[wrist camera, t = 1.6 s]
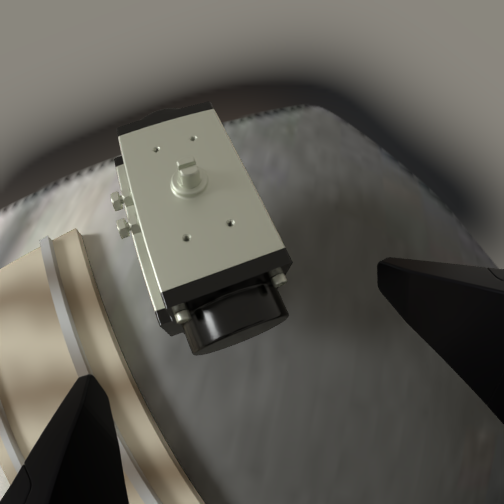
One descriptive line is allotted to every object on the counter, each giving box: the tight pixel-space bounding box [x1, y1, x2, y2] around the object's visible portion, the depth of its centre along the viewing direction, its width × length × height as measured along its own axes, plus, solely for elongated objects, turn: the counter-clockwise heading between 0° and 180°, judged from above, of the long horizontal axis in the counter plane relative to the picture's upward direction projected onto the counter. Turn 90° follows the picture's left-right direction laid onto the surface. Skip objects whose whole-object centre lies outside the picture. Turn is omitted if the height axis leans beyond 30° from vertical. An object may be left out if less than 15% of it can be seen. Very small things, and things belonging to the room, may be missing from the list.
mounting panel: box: [0, 228, 205, 504], centre depth 16 cm, size 22×14×2 cm, turn 28°
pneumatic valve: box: [111, 102, 293, 355], centre depth 16 cm, size 6×12×12 cm, turn 23°
